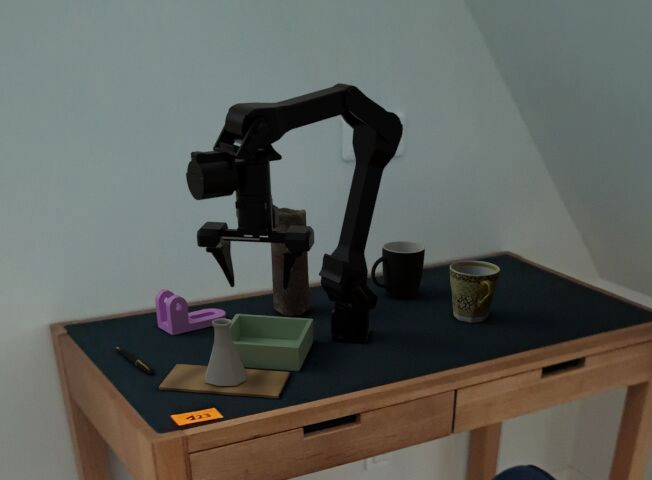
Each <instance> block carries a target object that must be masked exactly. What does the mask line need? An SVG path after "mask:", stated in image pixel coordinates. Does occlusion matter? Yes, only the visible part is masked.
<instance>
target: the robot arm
mask: <svg viewBox="0 0 652 480" xmlns="http://www.w3.org/2000/svg"><path fill="white" fill-rule="evenodd" d="M338 116H340V117H341V118H342V119H343V121H344V122H345V123H346V124H347V125H348V126H349V127H350V128H351V129H352V140H351V141H352V142H351V144H352V149H353V154H354V159H355V165H354V170H353V175H352V179H351V184H350V188H349V193H348V197H347V202H346V206H345V211H344V216H343V220H342V226H341V230H340V233H339V238H338V242H337V243H338V244H337V246H336V248H335V249H334V250H333V251H332V253H331V254H328V253H324V254H323V256H322V265H321V269H320V271H319V273H318V276H319V277H320V286H321V287H322V289H323V291H324V292H325V293H326V294H327V297H328V300H329V301H330V302H334V303H335V304H334V306H333V309H332V311H331V313H330V315H331V316H330V320H331V321H330V324H331V325H330V331H331V332H330V333H331V335H332V337H331V338H332V339H331V340H332V341H334V342H350V343H361V344H362V343H363V344H364V343H367V342H368V338H369V336H370V332H371V328H370V311H372V310H374V309H376V306H377V303H378V300H379V297H378V295H376V294H375V293H374V292H373V290H371V288H369V287H368V286H367V284H368V275H369V269H368V265H367V260H366V255H365V253H366V246H367V243H368V239H369V238H368V237H369V235H370V231H371V226H372V222H373V221H372V220H373V216H374V212H375V208H376V204H377V200H378V196H379V195H378V194H379V190H380V186H381V182H382V178H383V173H384V171H385V168H386V167H387V166H388V165H389V163H390V162H391V161H392V160H393V158H394V157H395V156H396V154H397V151H398V148H399V145H400V143H401V140H402V138H403V134H404V133H403V132H404V125H403V123H402V121H401V119H400V117H399V116H398V114H397V113H395V112H392V111H388V110H386V109H385V108H384V107H383V106H382V105H380V104H379V103H377V102H376V101H374V100H372V99H371V98H370V97H369V96H367V95H366V94H365V93H364V92H363V91H361V89H359V87H358V86H356V85H352V84H347V83H343V82H342V83H341V82H338V83H335V84H334V85H332V86H329V87H327V88H323V89H319V90H316V91H312V92H309V93H304V94H302V95H298V96H295V97H291V98H288V99H284V100H281V101H277V102H239V103H235V104H232V105H231V106H230V107H229V108H228V112H227V113H226V115H225V120H224V125H223V126H222V129H221V131H220V133H219V135H218V136H217V139H216V141H215V142H214V144H213V147H212V150H208V151H200V150H197V151H191V152H190V161H189V162H188V165H187V168H186V172H185V179H186V184H187V189H188V191H189V192H190V195H191V196H192V198H193V199H194V200H196V201H202V200H209V199H216V198H224V197H230V196H232V195H234V193H235V202H234V205H235V206H234V207H235V214H236V215H235V216H236V219H237V228H229V225H228V223H227V222H225V221H205V223H203V225H201V227H200V228H199V229H197V231H196V243H197V244H196V246H197V247H199V248H205V252H206V253H209V254H211V255H212V256H213V257H214V260H215V261H216V262H217V264H218V266H219V267H220V269H221V271H222V272H223V275H224V276H225V278H226V280H227V282H228V284H229V286H230V287H231V288H234V287H235V273H234V265H233V259H232V252H231V250H232V247H231V246H232V242H241V243H243V242H244V243H263V244H264V243H265V244H271V243H285V246H286V248H287V249H286V251H285V252H284V265H283V286H284V290H287V287H288V284H289V280H290V277H291V273H292V269H293V266H294V263H295V261H296V258H297V257H300V256H302V255H303V253H304V252H310V251H311V249H312V248H313V246H314V244H315V231H314V228H313V227H312V226H311V225H307V226H295V225H290V227H289V228H288V230H287V231H273V228H276V227H278V213H279V208H280V207H278V206H277V205H275V204H274V200H273V199H274V198H273V195H272V181H271V179H272V177H271V162H277V161H281V160H282V159H283V155H282V154H280V153H279V151H277V150H276V149H275V148H274V146H273V145H272V144H274V143H276V142H278V141H280V140H281V139H282V138H283V137H284V136H285V134H286V133H288V132H290V131H292V130H295V129H298V128H302V127H305V126H308V125H312V124H315V123H318V122H322V121H325V120H328V119H332V118H336V117H338ZM235 143H236V144H235ZM238 144H239V145H238Z"/></svg>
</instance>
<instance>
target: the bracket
mask: <svg viewBox="0 0 652 480" xmlns="http://www.w3.org/2000/svg"><path fill="white" fill-rule="evenodd" d="M165 300H166V301H165ZM154 302H155V310H156V320H157V328H159V329H160V330H163V331H165V332H166V333H167V334H170V335H171V336H176V335H180V334H185V333H188V332H193V331H197V330H202V329H205V328H209V327H213V326H212V321H213V320H215V319H220V318H225V319H227V317H226V316H227V315H226V314H227V313H226V311H225V310H223V309H221V308H203V309H200V310H194V311H191V312H189V307H188V302H187V300H186V299H185V298H184V297H182V296H181V295H179V294H175V293H174V292H173V291H171V290H169V289H166V288H162V289H160V290H159V291H157V293H156V294H155V297H154Z"/></svg>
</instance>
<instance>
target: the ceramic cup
mask: <svg viewBox="0 0 652 480" xmlns="http://www.w3.org/2000/svg"><path fill="white" fill-rule="evenodd" d="M500 274H501V268H500V267H499V266H498V265H497V264H494V263H491V262H488V261H483V260H460V261H456V262H453V263H451V264H450V265H449V281H450V289H451V301H452V311H453V313H452V314H453V316H454V318H456V319H457V320H458V321H461V322H465V323H471V324H474V323H482V322H483V321H485V320H486V319H487V318H488V317H489V313H490V309H491V305H492V303H493V299H494V295H495V291H496V289H497V286H498V282H499V280H500Z"/></svg>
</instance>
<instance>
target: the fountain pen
mask: <svg viewBox="0 0 652 480" xmlns="http://www.w3.org/2000/svg"><path fill="white" fill-rule="evenodd" d="M116 349H117V351H118V352H119V353H120V354H121V355H123V356H124V357H125V358H126V359H127V360H129V361H130V362H131V363H133V364H134V365H135V366H136V367H137V368H139V369H140V370H142V371H143V372H144V373H147V374H150V375H151V374H153V370H152V369H151V367H149V366H148V365H147V364H146V363H145V362H144V361H142V360H141V359H139V358H138V357H136V356H134V355H133V354H132V353H131V352H129V351H127V350H125V349H124V348H122V347H119V346H116Z"/></svg>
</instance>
